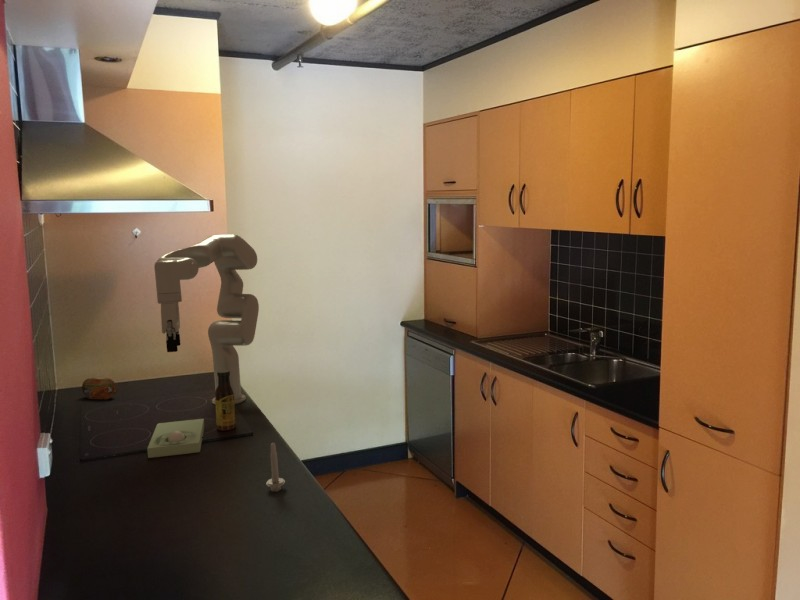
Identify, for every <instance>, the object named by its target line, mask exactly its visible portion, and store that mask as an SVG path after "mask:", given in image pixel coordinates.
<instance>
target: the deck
mask: <svg viewBox="0 0 800 600" xmlns="http://www.w3.org/2000/svg"><path fill="white" fill-rule="evenodd" d="M205 426H206V425H205V419H204V418H197V419H188V420H187V419H186V420H179V421H178V420H177V421H168V422H159V423H157V424H156V426H155V429H154V430H153V434H152V436H151V437H150V441H149V444H148V446H147V447H146V448H147V449H146V450H147V458H148V459H150V458H160V457H168V456H177V455H185V454H194V453H200V452H201V448H202V443H203V438H204V431H205ZM174 431H180V432H182V433H183V434H184V436H185V439H184V440H181V441H178V442H168V437H169V435H170V434H171V433H172V432H174ZM202 437H203V438H202Z"/></svg>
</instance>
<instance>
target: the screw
mask: <svg viewBox="0 0 800 600" xmlns="http://www.w3.org/2000/svg"><path fill="white" fill-rule="evenodd" d="M269 453H270V457H269V458H270V470H271V478H270V479H268V480H267V481H266V483H265V484H266V487H269V488H270V490H271V492H276V493H277V492H279V491H281V490H282V486H283V485H285V484H286V480H285V479H284V478H282V477H280V476H279V475H280V474H279V463H278V452H277V448H276V443H275V442H271V443H270V452H269Z"/></svg>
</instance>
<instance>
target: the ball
mask: <svg viewBox="0 0 800 600" xmlns="http://www.w3.org/2000/svg"><path fill="white" fill-rule="evenodd" d="M184 439H185V436H184V434H183V433H182V432H180V431H174V432H172V433H171V434H170V435H169V437H168V442H178V441H181V440H184Z"/></svg>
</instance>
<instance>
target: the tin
mask: <svg viewBox="0 0 800 600" xmlns="http://www.w3.org/2000/svg"><path fill="white" fill-rule="evenodd" d="M81 390H82V393H83V395H84V396H85V397H86V398H88V399H90V400H103V399H104V400H109V399H112V398H113V397H114V396H115V395H116V393H117V385H116V383H115V381H114V380H113V379H112V378H106V377H105V378H103V377H90V378H86V379H85V380H84V381H83V382H82V385H81Z"/></svg>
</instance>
